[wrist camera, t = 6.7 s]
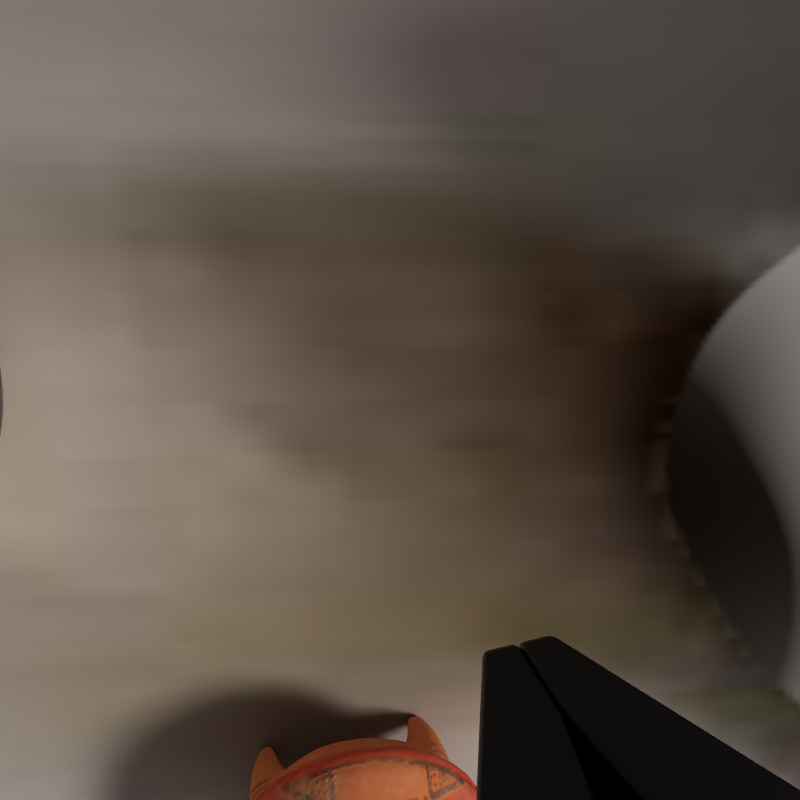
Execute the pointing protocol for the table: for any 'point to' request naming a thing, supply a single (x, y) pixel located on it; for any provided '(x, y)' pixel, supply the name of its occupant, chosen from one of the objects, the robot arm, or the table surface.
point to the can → (1, 402)
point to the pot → (366, 771)
